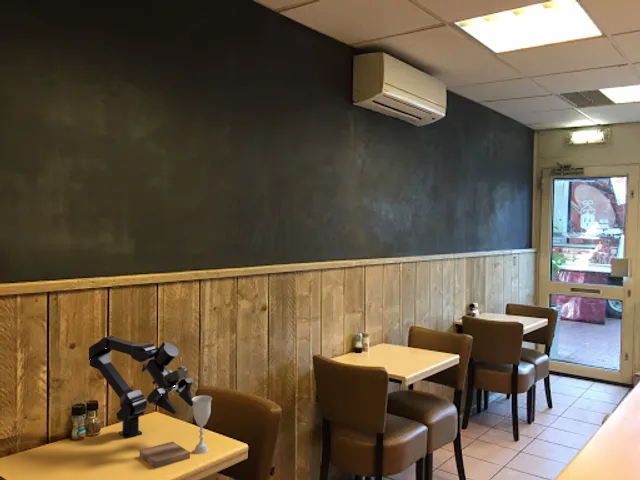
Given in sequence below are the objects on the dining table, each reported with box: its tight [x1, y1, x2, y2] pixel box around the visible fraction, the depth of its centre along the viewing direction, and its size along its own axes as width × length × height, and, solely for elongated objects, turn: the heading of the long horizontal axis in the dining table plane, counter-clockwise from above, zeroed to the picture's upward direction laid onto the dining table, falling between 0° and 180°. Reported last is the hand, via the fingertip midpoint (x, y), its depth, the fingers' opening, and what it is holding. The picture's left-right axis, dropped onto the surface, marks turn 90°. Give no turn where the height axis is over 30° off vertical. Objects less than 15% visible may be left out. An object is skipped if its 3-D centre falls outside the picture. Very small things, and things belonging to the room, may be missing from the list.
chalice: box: [192, 394, 213, 455], centre depth 188 cm, size 7×7×18 cm
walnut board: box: [139, 441, 191, 469], centre depth 182 cm, size 12×12×2 cm
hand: (184, 409), depth 191 cm, fingers open, 9 cm apart
